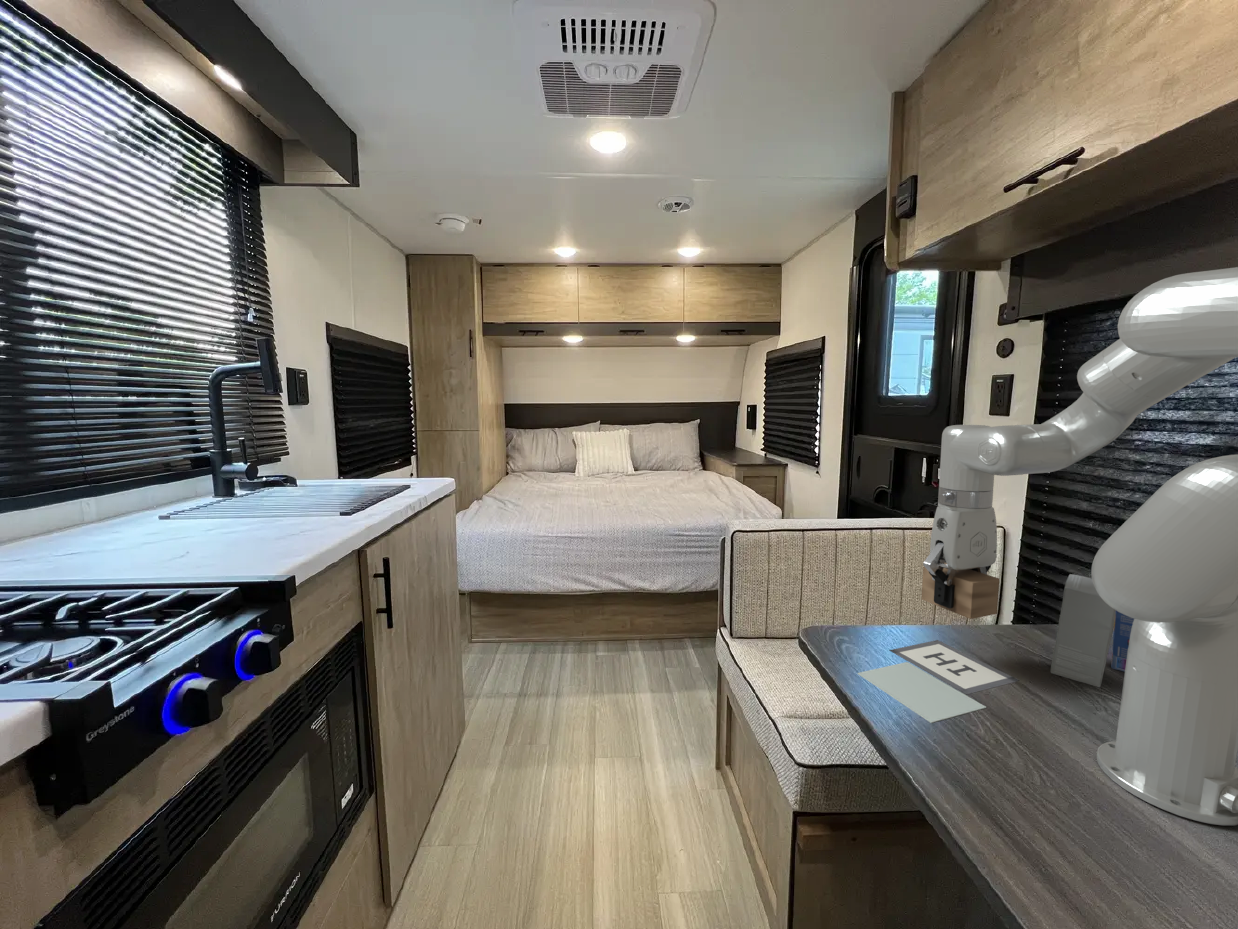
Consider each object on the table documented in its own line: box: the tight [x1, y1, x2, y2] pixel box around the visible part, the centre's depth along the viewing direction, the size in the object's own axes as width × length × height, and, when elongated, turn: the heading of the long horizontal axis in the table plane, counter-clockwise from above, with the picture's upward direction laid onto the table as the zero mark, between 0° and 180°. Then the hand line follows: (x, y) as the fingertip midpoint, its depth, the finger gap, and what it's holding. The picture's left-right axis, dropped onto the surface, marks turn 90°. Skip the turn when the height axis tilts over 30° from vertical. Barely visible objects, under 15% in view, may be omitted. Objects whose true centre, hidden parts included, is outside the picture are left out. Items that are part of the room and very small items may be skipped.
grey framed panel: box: [888, 639, 1020, 696], centre depth 89 cm, size 15×12×1 cm
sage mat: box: [857, 661, 987, 724], centre depth 82 cm, size 14×11×1 cm
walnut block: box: [921, 563, 1000, 620], centre depth 87 cm, size 9×6×6 cm, turn 18°
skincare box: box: [1050, 573, 1116, 688], centre depth 85 cm, size 8×7×16 cm
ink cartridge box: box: [1110, 611, 1134, 673], centre depth 88 cm, size 10×6×14 cm, turn 135°
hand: (958, 601), depth 87 cm, fingers closed on walnut block, 6 cm apart
